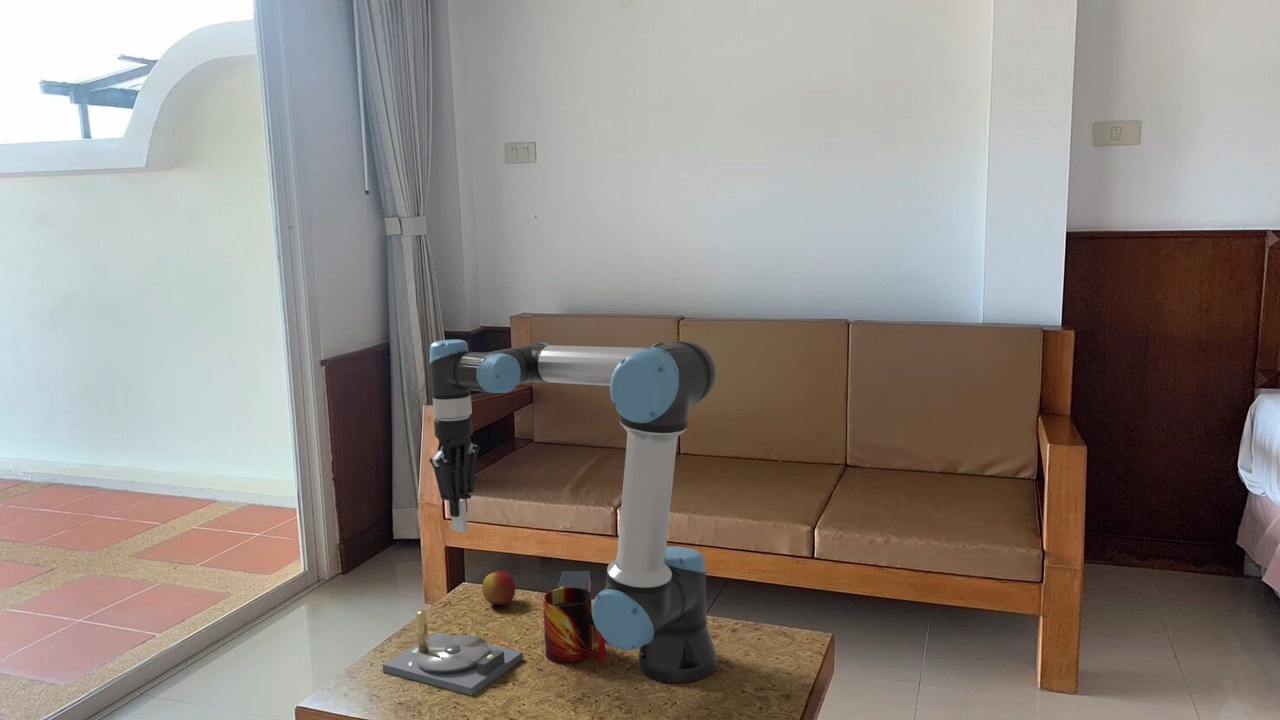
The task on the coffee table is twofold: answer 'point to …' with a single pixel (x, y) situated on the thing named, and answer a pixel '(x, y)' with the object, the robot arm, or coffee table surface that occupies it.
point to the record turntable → (455, 681)
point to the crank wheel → (447, 649)
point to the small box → (575, 580)
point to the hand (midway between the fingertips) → (459, 530)
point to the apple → (499, 588)
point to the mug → (570, 627)
